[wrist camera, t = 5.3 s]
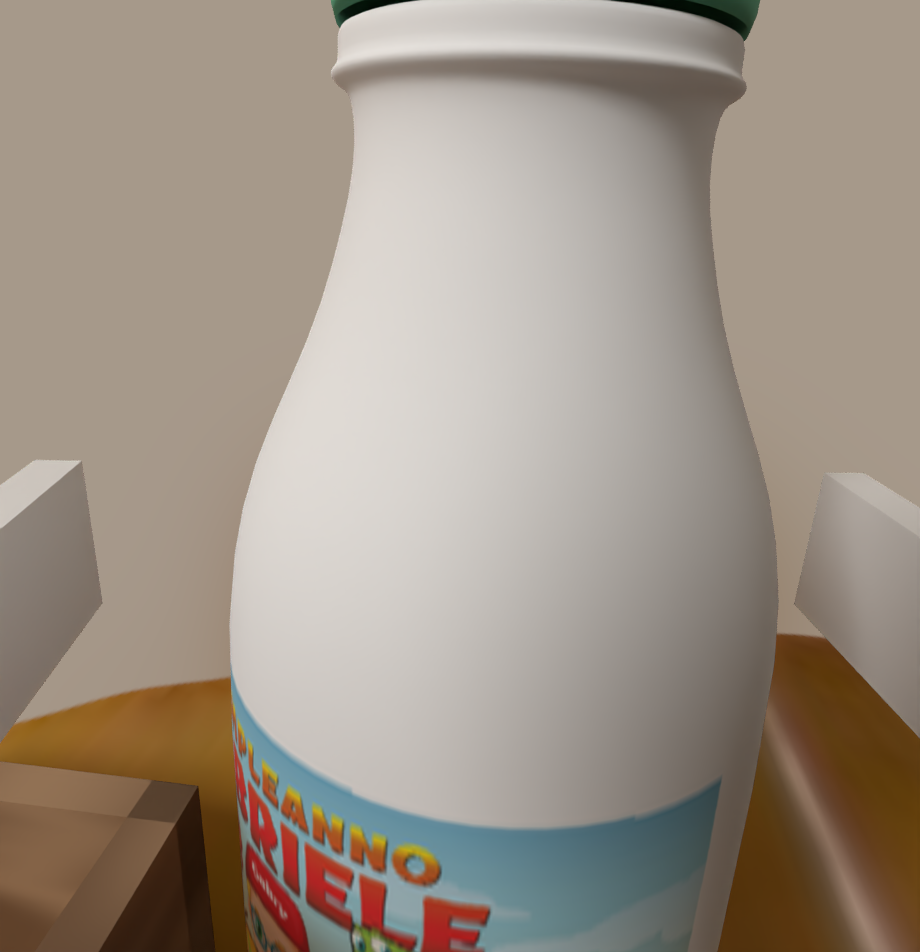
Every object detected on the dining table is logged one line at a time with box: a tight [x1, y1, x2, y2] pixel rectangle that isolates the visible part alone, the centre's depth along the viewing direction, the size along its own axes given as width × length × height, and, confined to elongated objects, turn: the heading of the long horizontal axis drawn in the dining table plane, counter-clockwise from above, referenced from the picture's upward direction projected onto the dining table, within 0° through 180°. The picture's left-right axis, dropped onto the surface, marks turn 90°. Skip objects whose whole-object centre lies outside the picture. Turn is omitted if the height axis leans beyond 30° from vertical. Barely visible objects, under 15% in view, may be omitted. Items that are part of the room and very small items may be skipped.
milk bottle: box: [230, 0, 778, 952], centre depth 11 cm, size 8×8×20 cm
